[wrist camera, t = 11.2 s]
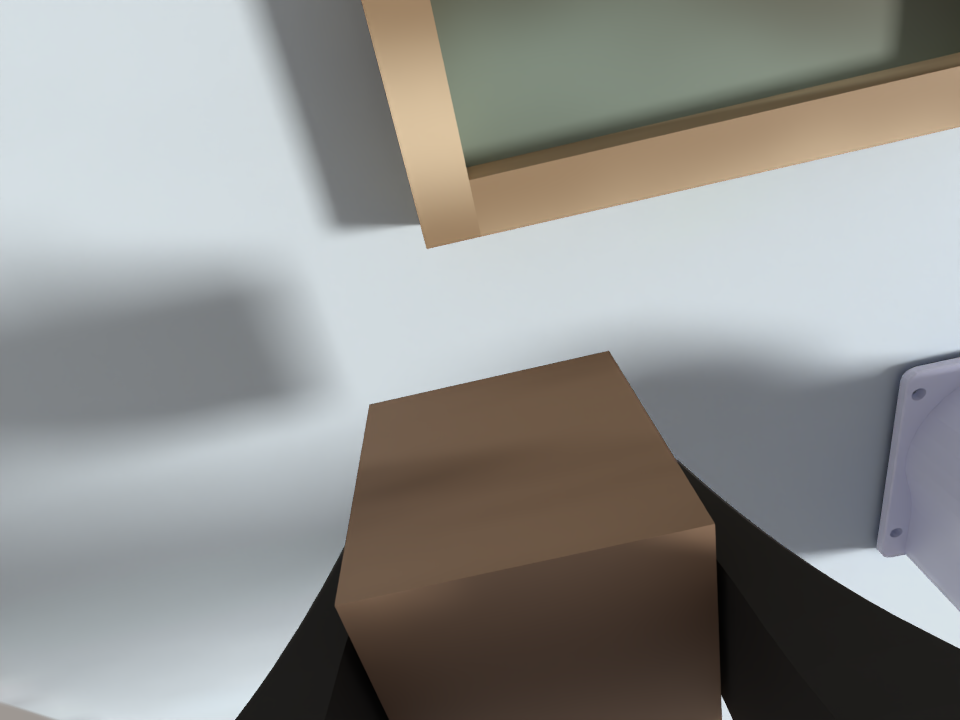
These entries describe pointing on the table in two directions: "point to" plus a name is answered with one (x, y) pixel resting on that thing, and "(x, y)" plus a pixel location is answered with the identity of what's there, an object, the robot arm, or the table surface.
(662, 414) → the table surface
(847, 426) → the table surface
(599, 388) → the walnut cube
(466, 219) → the wooden frame
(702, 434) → the table surface
